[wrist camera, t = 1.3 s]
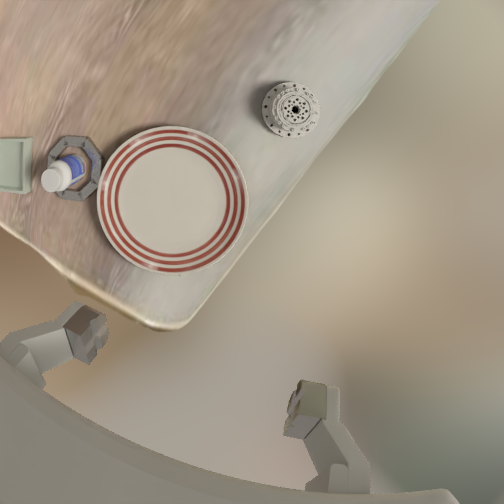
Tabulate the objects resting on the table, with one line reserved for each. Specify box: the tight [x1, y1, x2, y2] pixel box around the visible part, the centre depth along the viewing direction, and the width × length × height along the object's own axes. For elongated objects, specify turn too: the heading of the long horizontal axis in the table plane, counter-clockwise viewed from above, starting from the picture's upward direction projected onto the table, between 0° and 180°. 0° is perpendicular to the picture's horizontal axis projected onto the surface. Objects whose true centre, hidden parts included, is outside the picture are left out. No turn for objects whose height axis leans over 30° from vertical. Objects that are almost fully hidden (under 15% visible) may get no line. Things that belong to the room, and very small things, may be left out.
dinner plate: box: [97, 126, 248, 275], centre depth 50 cm, size 28×27×3 cm
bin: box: [0, 137, 33, 194], centre depth 41 cm, size 11×11×2 cm
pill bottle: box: [41, 154, 86, 192], centre depth 41 cm, size 5×5×10 cm
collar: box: [48, 136, 104, 201], centre depth 45 cm, size 12×12×1 cm
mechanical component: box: [262, 82, 320, 138], centre depth 44 cm, size 10×4×10 cm
